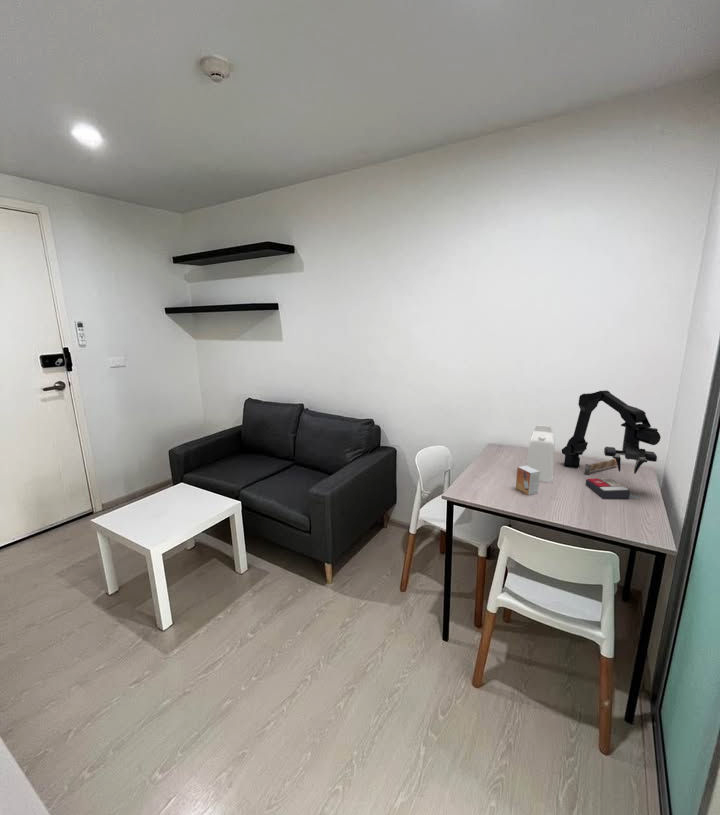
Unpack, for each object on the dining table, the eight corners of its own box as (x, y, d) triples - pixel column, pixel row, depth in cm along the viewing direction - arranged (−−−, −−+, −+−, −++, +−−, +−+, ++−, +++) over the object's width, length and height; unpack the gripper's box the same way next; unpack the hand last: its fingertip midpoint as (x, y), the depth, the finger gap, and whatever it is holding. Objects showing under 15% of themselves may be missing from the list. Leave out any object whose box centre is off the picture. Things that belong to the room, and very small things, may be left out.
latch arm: (587, 475, 194) (588, 466, 193) (583, 474, 196) (584, 464, 195) (618, 468, 203) (619, 459, 202) (614, 467, 206) (615, 457, 205)
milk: (552, 475, 197) (558, 424, 191) (552, 483, 187) (557, 430, 182) (526, 471, 202) (531, 421, 197) (524, 479, 192) (528, 427, 187)
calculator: (610, 476, 183) (630, 488, 168) (609, 485, 184) (630, 498, 169) (585, 477, 184) (603, 489, 169) (585, 486, 184) (603, 499, 170)
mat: (614, 495, 174) (614, 494, 174) (611, 484, 185) (611, 483, 185) (638, 499, 170) (638, 498, 170) (634, 487, 181) (634, 487, 181)
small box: (515, 488, 182) (517, 466, 179) (524, 486, 184) (526, 465, 181) (528, 495, 174) (530, 472, 172) (538, 493, 176) (540, 471, 174)
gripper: (608, 440, 169) (603, 475, 173) (662, 446, 161) (656, 482, 164) (606, 434, 179) (601, 466, 182) (656, 439, 171) (651, 473, 174)
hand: (626, 472), depth 176 cm, fingers open, 5 cm apart
